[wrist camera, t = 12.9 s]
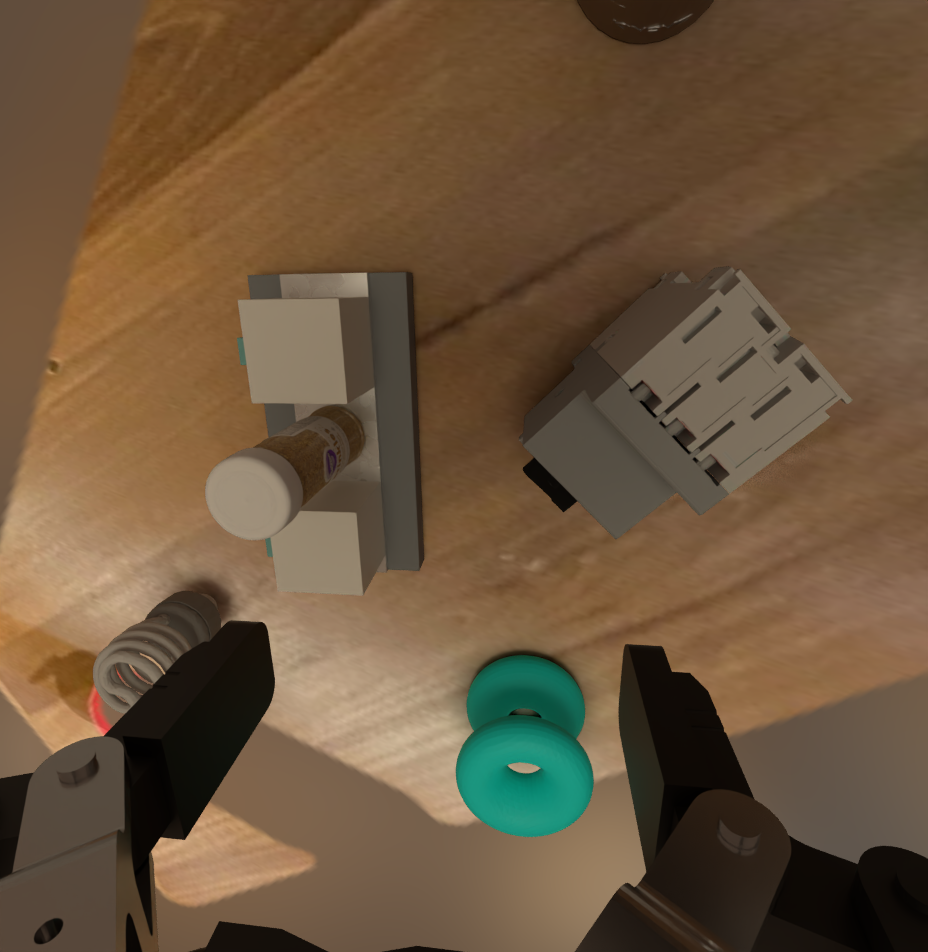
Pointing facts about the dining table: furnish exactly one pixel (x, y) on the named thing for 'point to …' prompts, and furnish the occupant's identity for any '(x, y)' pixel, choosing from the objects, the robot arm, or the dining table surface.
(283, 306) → the mounted modules
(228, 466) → the sprinkles bottle
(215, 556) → the dining table surface
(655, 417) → the circuit breaker
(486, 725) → the donuts
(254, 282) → the mounting board
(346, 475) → the din rail
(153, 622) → the light bulb
